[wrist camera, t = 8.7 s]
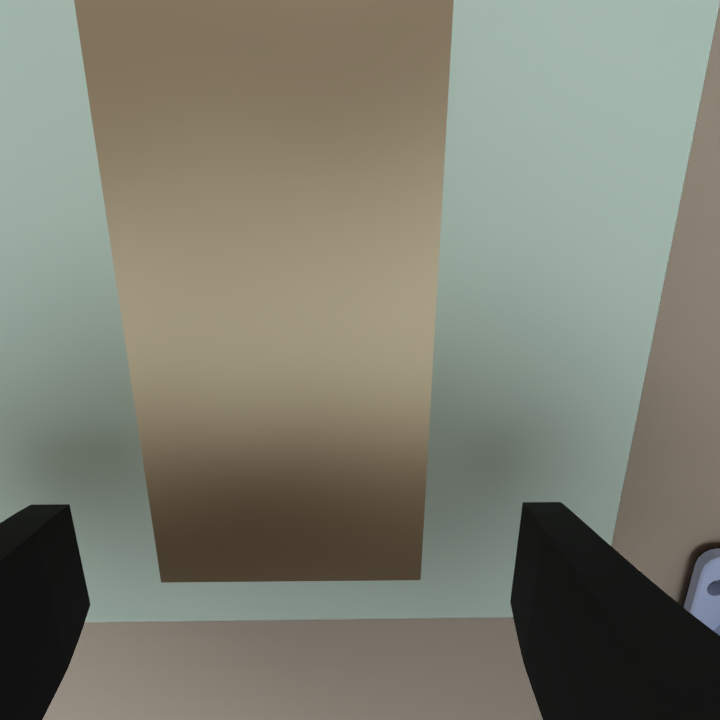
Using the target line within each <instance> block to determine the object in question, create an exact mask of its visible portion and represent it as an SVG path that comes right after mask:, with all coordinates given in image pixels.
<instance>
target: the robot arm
mask: <svg viewBox="0 0 720 720" xmlns="http://www.w3.org/2000/svg"><path fill="white" fill-rule="evenodd" d="M713 581H716V582H714V583H713V584H710V583H712V582H713ZM510 603H511V608H512V613H513V617H514V622H515V627H516V631H517V636H518V640H519V645H520V649H521V653H522V658H523V662H524V665H525V668H526V671H527V674H528V677H529V680H530V683H531V686H532V689H533V692H534V695H535V698H536V701H537V703H538V706H539V709H540V712H541V715H542V718H543V720H720V548H717V549H711V550H708V551H706V552H704V553H703V554H702V555H701V556H700V557H699V558H698V560H697V562H696V563H695V567H694V571H693V574H692V578H691V582H690V586H689V589H688V593H687V597H686V600H685V604H684V608H683V607H682V606H681V605H680V604H678V603H677V602H676V601H675V600H673V599H672V598H671V597H670V596H668V595H667V594H666V593H665V592H664V591H662V590H661V589H660V588H659V587H658V586H656V585H655V584H654V583H653V582H652V581H650V580H649V579H648V578H647V577H646V576H645V575H643V574H642V573H641V572H640V571H639V570H637V569H636V568H635V567H634V566H633V565H632V564H631V563H629V562H628V561H627V560H626V559H625V558H624V557H623V556H621V555H620V554H619V553H618V552H617V551H616V550H615V549H614V548H612V547H611V546H610V545H609V544H608V543H607V542H606V541H605V540H603V539H602V538H601V537H600V536H599V535H598V534H597V533H596V532H594V531H593V530H592V529H591V528H590V527H589V526H588V525H587V524H586V523H584V522H583V521H582V520H581V519H580V518H579V517H578V516H577V515H575V514H574V513H573V512H572V511H571V510H570V509H569V508H567V507H566V506H565V505H564V504H563V503H561V502H523V504H522V512H521V520H520V528H519V536H518V544H517V552H516V560H515V568H514V576H513V584H512V592H511V600H510ZM89 608H90V600H89V595H88V590H87V586H86V581H85V576H84V571H83V567H82V562H81V557H80V552H79V548H78V543H77V538H76V533H75V529H74V524H73V519H72V514H71V509H70V505H69V504H44V505H29V506H27V507H26V508H24V509H22V510H20V511H19V512H17V513H15V514H14V515H12V516H10V517H9V518H7V519H6V520H4V521H3V522H1V523H0V720H42V719H43V717H44V715H45V713H46V711H47V709H48V707H49V705H50V703H51V701H52V699H53V697H54V695H55V693H56V691H57V689H58V687H59V685H60V683H61V681H62V679H63V677H64V675H65V673H66V671H67V669H68V666H69V664H70V661H71V658H72V656H73V653H74V650H75V648H76V645H77V642H78V640H79V637H80V634H81V631H82V628H83V625H84V622H85V619H86V617H87V614H88V611H89Z"/></svg>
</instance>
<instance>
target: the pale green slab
mask: <svg viewBox="0 0 720 720" xmlns="http://www.w3.org/2000/svg"><path fill="white" fill-rule="evenodd" d="M719 4H720V0H454V3H453V21H452V38H451V56H450V73H449V91H448V108H447V126H446V143H445V161H444V178H443V196H442V214H441V231H440V249H439V266H438V284H437V301H436V319H435V336H434V354H433V371H432V389H431V406H430V424H429V441H428V459H427V476H426V494H425V512H424V529H423V547H422V564H421V580H389V581H279V582H170V583H161V579H160V572H159V565H158V559H157V552H156V545H155V539H154V532H153V525H152V518H151V512H150V505H149V498H148V492H147V485H146V478H145V472H144V465H143V458H142V452H141V445H140V438H139V431H138V425H137V418H136V411H135V405H134V398H133V391H132V385H131V378H130V371H129V365H128V358H127V351H126V345H125V338H124V331H123V324H122V318H121V311H120V304H119V298H118V291H117V284H116V278H115V271H114V264H113V258H112V251H111V244H110V237H109V231H108V224H107V217H106V211H105V204H104V197H103V191H102V184H101V177H100V171H99V164H98V157H97V151H96V144H95V137H94V130H93V124H92V117H91V110H90V104H89V97H88V90H87V84H86V77H85V70H84V64H83V57H82V50H81V43H80V37H79V30H78V23H77V17H76V10H75V3H74V0H0V523H1V522H3V521H4V520H6V519H7V518H9V517H10V516H12V515H14V514H15V513H17V512H19V511H20V510H22V509H24V508H26V507H27V506H29V505H44V504H69V505H70V509H71V514H72V519H73V524H74V529H75V533H76V538H77V543H78V548H79V552H80V557H81V562H82V567H83V571H84V576H85V581H86V586H87V590H88V595H89V600H90V608H89V611H88V614H87V617H86V619H85V622H159V621H240V620H321V619H402V618H484V617H513V613H512V608H511V603H510V600H511V592H512V584H513V576H514V568H515V560H516V552H517V544H518V536H519V528H520V520H521V512H522V504H523V502H561V503H563V504H564V505H565V506H566V507H567V508H569V509H570V510H571V511H572V512H573V513H574V514H575V515H577V516H578V517H579V518H580V519H581V520H582V521H583V522H584V523H586V524H587V525H588V526H589V527H590V528H591V529H592V530H593V531H594V532H596V533H597V534H598V535H599V536H600V537H601V538H602V539H603V540H605V541H606V542H607V543H608V544H609V545H610V546H611V544H612V539H613V534H614V529H615V524H616V519H617V514H618V509H619V504H620V499H621V494H622V489H623V484H624V479H625V474H626V469H627V464H628V459H629V454H630V449H631V444H632V439H633V434H634V429H635V424H636V419H637V414H638V409H639V404H640V399H641V394H642V389H643V384H644V379H645V374H646V369H647V364H648V359H649V354H650V349H651V344H652V339H653V334H654V329H655V324H656V319H657V314H658V309H659V304H660V299H661V294H662V289H663V284H664V279H665V274H666V269H667V264H668V259H669V254H670V249H671V244H672V239H673V234H674V229H675V224H676V219H677V214H678V209H679V204H680V199H681V194H682V189H683V184H684V179H685V174H686V169H687V164H688V159H689V154H690V149H691V144H692V139H693V134H694V129H695V124H696V119H697V114H698V109H699V104H700V99H701V94H702V89H703V84H704V79H705V74H706V69H707V64H708V59H709V54H710V49H711V44H712V39H713V34H714V29H715V24H716V19H717V14H718V9H719Z"/></svg>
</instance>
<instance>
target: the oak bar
mask: <svg viewBox="0 0 720 720" xmlns="http://www.w3.org/2000/svg"><path fill="white" fill-rule="evenodd" d="M74 3H75V10H76V17H77V23H78V30H79V37H80V43H81V50H82V57H83V64H84V70H85V77H86V84H87V90H88V97H89V104H90V110H91V117H92V124H93V130H94V137H95V144H96V151H97V157H98V164H99V171H100V177H101V184H102V191H103V197H104V204H105V211H106V217H107V224H108V231H109V237H110V244H111V251H112V258H113V264H114V271H115V278H116V284H117V291H118V298H119V304H120V311H121V318H122V324H123V331H124V338H125V345H126V351H127V358H128V365H129V371H130V378H131V385H132V391H133V398H134V405H135V411H136V418H137V425H138V431H139V438H140V445H141V452H142V458H143V465H144V472H145V478H146V485H147V492H148V498H149V505H150V512H151V518H152V525H153V532H154V539H155V545H156V552H157V559H158V565H159V572H160V579H161V583H170V582H279V581H389V580H421V564H422V547H423V529H424V512H425V494H426V476H427V459H428V441H429V424H430V406H431V389H432V371H433V354H434V336H435V319H436V301H437V284H438V266H439V249H440V231H441V214H442V196H443V178H444V161H445V143H446V126H447V108H448V91H449V73H450V56H451V38H452V21H453V3H454V0H74Z"/></svg>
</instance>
